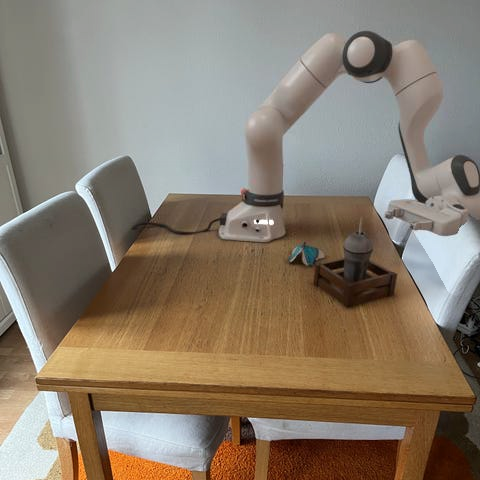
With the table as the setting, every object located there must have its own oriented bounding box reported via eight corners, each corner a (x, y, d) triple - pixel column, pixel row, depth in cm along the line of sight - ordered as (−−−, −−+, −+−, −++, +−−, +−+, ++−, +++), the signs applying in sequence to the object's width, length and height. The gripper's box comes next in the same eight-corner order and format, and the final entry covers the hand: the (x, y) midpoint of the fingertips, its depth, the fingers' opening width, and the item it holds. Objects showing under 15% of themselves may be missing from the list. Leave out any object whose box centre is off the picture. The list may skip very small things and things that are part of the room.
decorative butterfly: (280, 251, 136) (292, 232, 142) (282, 269, 140) (293, 250, 147) (315, 257, 132) (325, 237, 139) (315, 275, 137) (325, 255, 143)
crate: (347, 308, 116) (350, 286, 113) (313, 284, 127) (315, 263, 124) (393, 295, 121) (397, 274, 118) (357, 273, 133) (359, 253, 130)
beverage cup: (368, 285, 126) (379, 212, 116) (365, 297, 120) (376, 221, 110) (340, 281, 128) (349, 209, 118) (336, 293, 122) (344, 218, 112)
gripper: (413, 191, 132) (373, 198, 127) (473, 211, 116) (431, 220, 111) (409, 213, 135) (370, 220, 130) (467, 236, 119) (426, 245, 114)
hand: (399, 220), depth 120 cm, fingers open, 8 cm apart
